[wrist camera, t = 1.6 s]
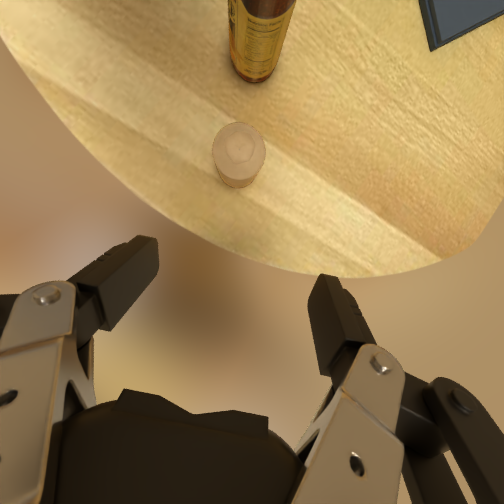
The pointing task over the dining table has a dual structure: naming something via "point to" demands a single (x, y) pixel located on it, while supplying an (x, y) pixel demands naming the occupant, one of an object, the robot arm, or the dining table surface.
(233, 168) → the candle
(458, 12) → the dark grey rectangular slab
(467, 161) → the dining table surface
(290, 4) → the sauce bottle
